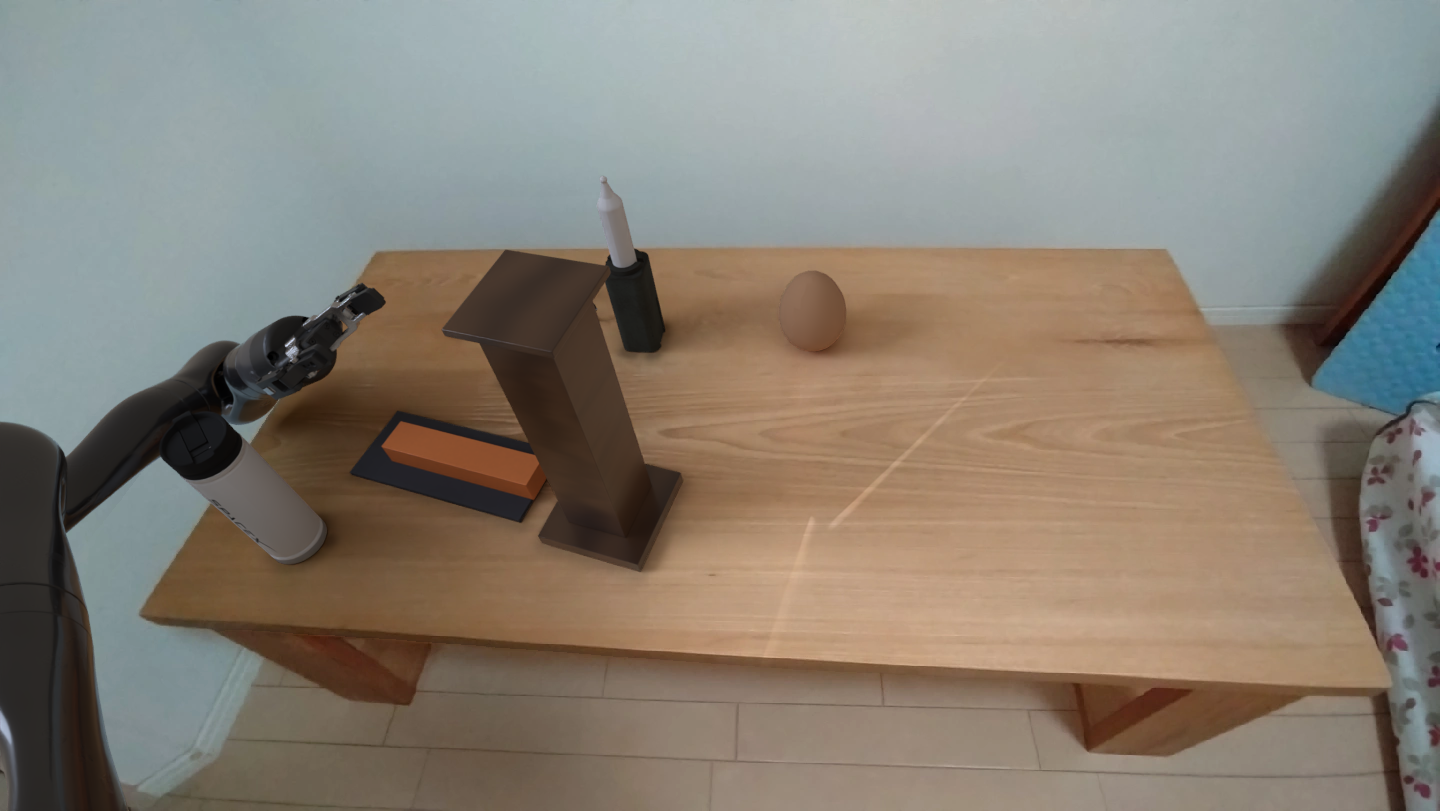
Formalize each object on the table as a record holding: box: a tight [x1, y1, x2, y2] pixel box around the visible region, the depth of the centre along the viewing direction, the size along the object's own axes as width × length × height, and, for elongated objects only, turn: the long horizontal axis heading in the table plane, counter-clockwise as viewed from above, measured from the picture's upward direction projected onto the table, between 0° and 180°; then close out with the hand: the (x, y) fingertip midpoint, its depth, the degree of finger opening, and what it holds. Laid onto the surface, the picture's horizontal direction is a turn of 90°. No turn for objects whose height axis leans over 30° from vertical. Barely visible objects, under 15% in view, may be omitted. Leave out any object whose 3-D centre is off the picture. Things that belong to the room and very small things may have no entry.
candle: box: [596, 175, 666, 353], centre depth 93 cm, size 5×5×25 cm
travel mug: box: [159, 411, 328, 565], centre depth 81 cm, size 6×7×20 cm
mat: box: [349, 410, 547, 524], centre depth 92 cm, size 24×10×1 cm, turn 70°
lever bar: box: [381, 421, 547, 501], centre depth 90 cm, size 20×4×3 cm, turn 70°
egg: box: [778, 270, 847, 352], centre depth 95 cm, size 8×8×11 cm
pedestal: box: [441, 249, 684, 573], centre depth 74 cm, size 12×12×32 cm
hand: (352, 324), depth 75 cm, fingers open, 7 cm apart
